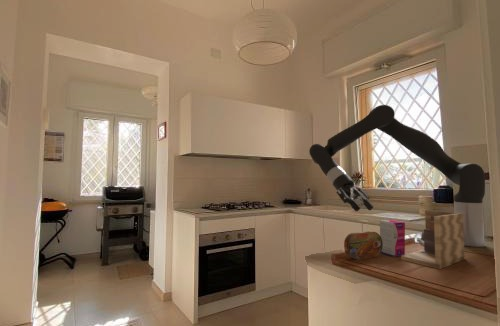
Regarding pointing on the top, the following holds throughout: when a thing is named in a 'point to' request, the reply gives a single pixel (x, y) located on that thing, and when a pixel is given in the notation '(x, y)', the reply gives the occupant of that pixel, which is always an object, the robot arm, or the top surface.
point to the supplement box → (392, 237)
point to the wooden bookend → (440, 240)
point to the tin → (363, 245)
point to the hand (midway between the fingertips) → (365, 209)
